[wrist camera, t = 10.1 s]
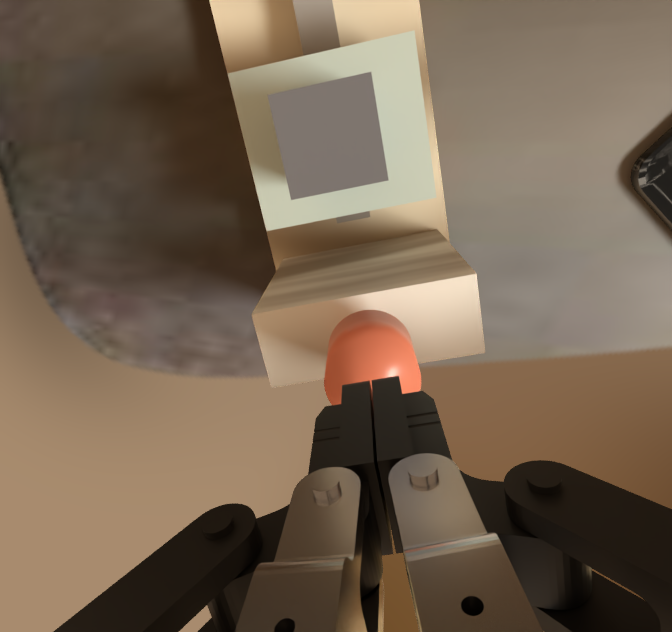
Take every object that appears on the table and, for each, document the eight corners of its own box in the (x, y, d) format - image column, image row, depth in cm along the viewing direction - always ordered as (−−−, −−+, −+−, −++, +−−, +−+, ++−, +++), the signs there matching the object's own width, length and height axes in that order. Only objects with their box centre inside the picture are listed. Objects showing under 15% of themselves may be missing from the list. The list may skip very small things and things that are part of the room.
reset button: (320, 317, 16) (315, 346, 14) (405, 302, 16) (413, 330, 14) (337, 392, 17) (334, 430, 15) (418, 379, 17) (427, 416, 15)
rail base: (172, -180, 21) (27, -428, 12) (382, -240, 20) (407, -560, 11) (290, 305, 28) (258, 389, 19) (449, 276, 28) (499, 350, 18)
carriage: (244, 81, 22) (185, 53, 14) (406, 44, 21) (435, -7, 13) (276, 219, 24) (240, 259, 16) (426, 189, 23) (461, 217, 15)
